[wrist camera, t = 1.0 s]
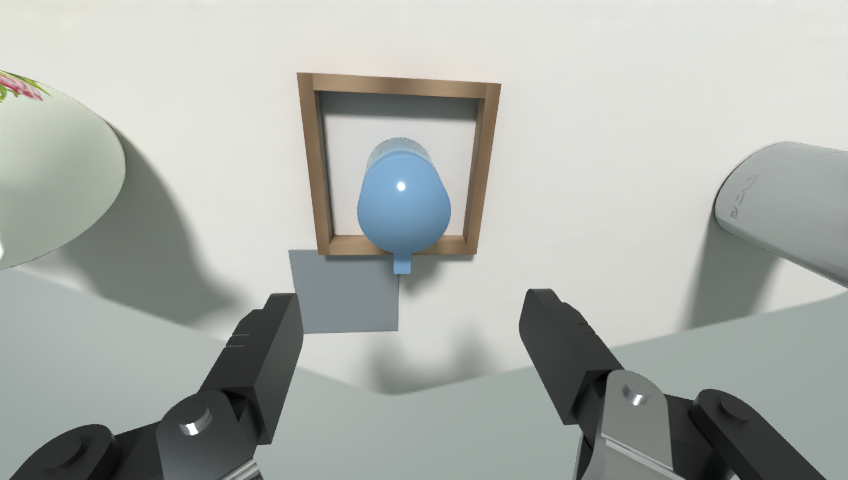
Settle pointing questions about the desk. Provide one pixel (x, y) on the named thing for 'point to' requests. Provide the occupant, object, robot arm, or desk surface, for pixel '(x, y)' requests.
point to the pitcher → (51, 169)
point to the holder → (406, 86)
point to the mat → (345, 292)
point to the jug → (402, 201)
